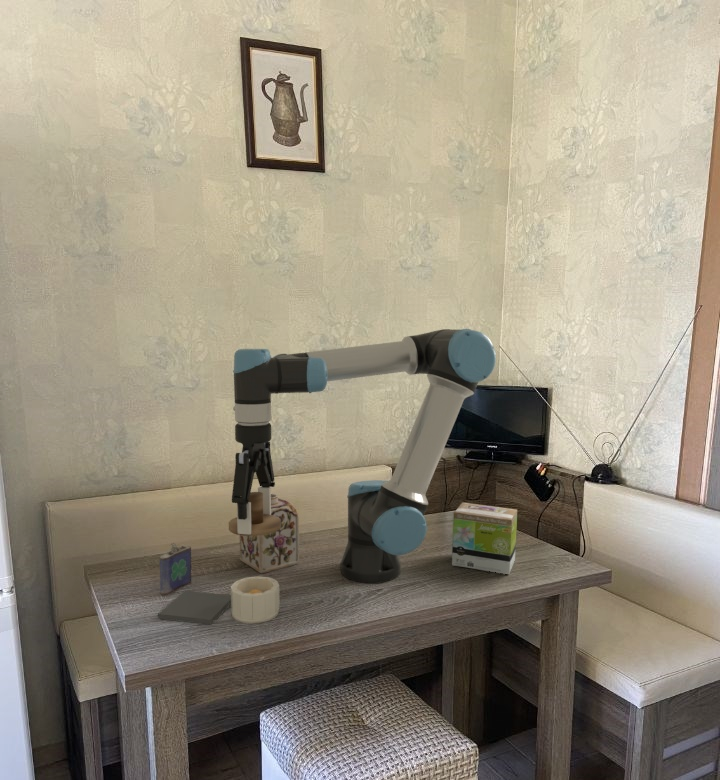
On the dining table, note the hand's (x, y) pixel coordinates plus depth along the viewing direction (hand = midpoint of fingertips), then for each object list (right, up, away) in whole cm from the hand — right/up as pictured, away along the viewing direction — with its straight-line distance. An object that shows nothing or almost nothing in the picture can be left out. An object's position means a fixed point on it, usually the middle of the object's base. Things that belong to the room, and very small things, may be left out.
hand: (255, 524), depth 133 cm
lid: (0, -1, 0) cm, 1 cm away
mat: (-13, -19, +4) cm, 24 cm away
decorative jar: (-1, -17, +31) cm, 35 cm away
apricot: (0, -19, +2) cm, 19 cm away
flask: (-21, -18, +14) cm, 31 cm away
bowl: (0, -19, +2) cm, 19 cm away
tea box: (+55, -17, +30) cm, 65 cm away
